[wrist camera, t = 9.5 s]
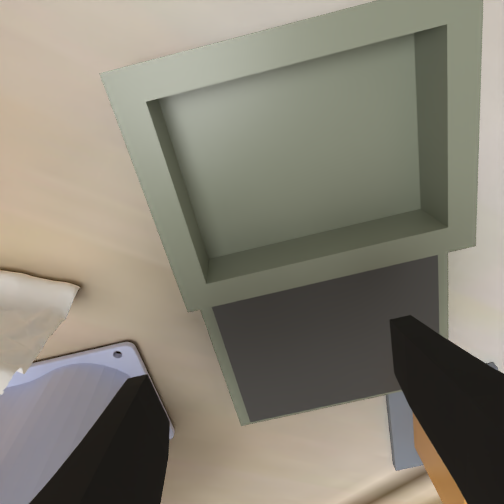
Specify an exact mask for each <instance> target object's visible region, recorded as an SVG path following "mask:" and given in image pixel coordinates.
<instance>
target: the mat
mask: <svg viewBox="0 0 504 504" xmlns="http://www.w3.org/2000/svg"><path fill="white" fill-rule="evenodd" d="M487 365H489V366H491V367H493V368H494V369H496V370H498V368H497V366H496V365H495V364H494V363H489V364H487ZM386 400H387V410H388V420H389V429H390V439H391V448H392V458H393V465H394V467H395V470H396V471H397V470H402V469H407V468H411V467H416V466H421V465H423V463H422V461H421V459H420V457H419V455H418V453H417V451H416V449H415V447H414V429H413V412H412V410H411V408H410V406H409V404H408V402H407V400H406V398H405V396H404V394H403V392H402V391H401V392H396V393H392V394H387V395H386Z"/></svg>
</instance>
